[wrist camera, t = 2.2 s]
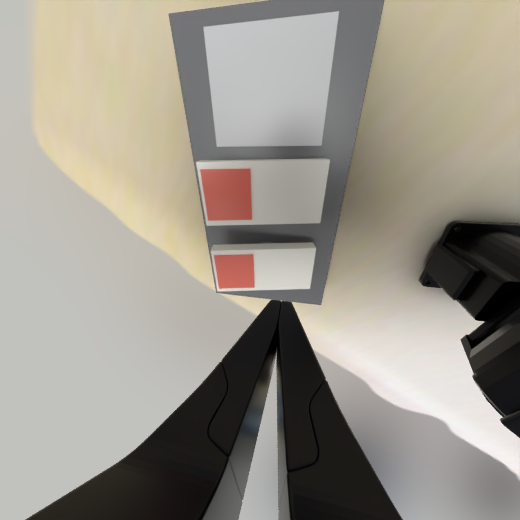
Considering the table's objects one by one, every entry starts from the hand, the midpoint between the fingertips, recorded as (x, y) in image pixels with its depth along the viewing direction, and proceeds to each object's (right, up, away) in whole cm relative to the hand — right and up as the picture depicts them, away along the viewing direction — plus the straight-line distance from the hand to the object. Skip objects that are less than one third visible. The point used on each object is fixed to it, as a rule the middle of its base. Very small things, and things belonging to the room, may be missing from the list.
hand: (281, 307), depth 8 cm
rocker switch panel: (0, +8, +9) cm, 12 cm away
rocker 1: (-1, +6, +5) cm, 8 cm away
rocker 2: (-1, +1, +8) cm, 8 cm away
